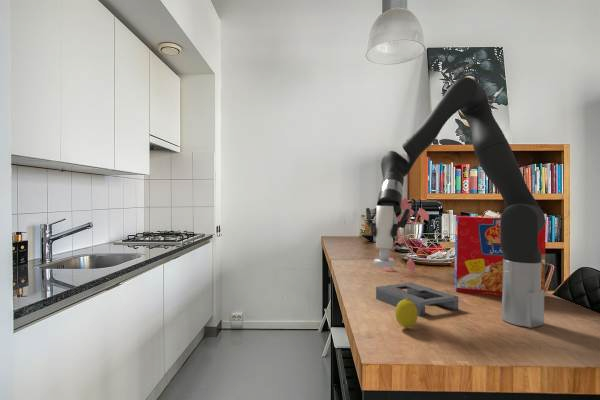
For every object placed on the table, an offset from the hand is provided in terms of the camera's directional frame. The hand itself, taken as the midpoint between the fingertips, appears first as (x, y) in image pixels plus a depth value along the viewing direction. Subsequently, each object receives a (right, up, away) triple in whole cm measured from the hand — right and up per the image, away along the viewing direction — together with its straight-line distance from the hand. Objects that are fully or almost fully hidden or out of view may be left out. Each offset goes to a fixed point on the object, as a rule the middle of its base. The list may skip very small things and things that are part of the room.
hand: (383, 235), depth 106 cm
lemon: (+3, -23, -14) cm, 27 cm away
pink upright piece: (+20, -23, +58) cm, 66 cm away
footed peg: (+1, -9, +2) cm, 9 cm away
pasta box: (+48, -24, +25) cm, 59 cm away
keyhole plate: (+13, -23, +9) cm, 28 cm away
